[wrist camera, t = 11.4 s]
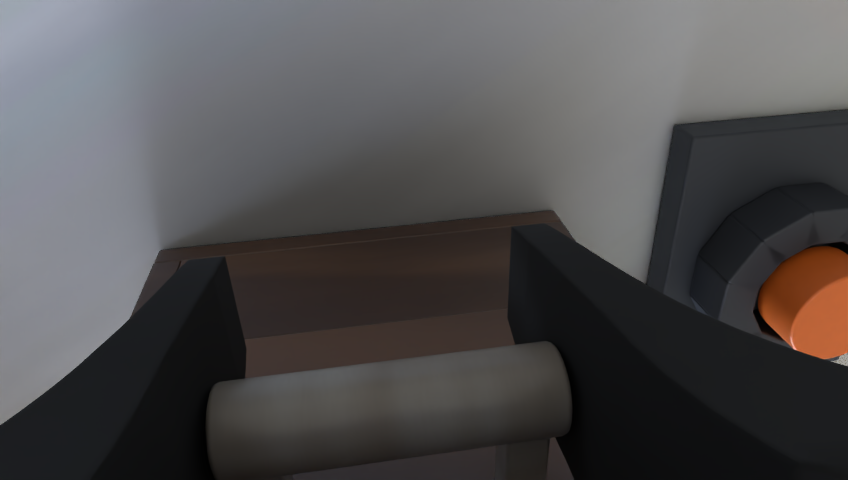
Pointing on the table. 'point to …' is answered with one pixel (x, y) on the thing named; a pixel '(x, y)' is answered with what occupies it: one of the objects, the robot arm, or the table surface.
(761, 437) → the robot arm
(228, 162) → the table surface
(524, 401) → the lid
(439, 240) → the compartment
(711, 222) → the panel
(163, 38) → the table surface
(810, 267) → the release button
